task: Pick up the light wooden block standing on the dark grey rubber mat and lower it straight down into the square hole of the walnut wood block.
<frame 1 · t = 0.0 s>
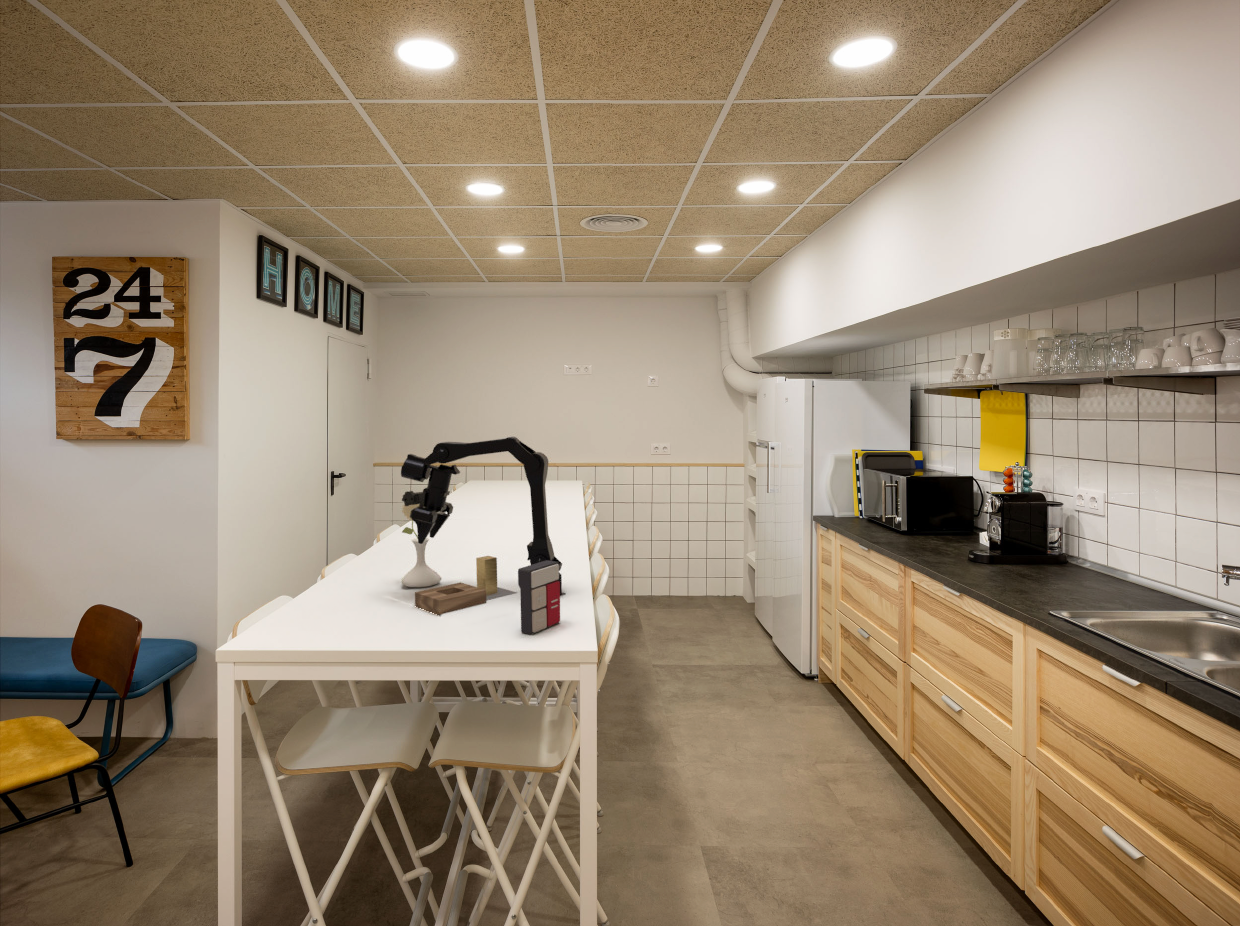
hand: (426, 540, 191), 15 cm above the table, tool pointing down, fingers open, 9 cm apart
hole block: (451, 605, 181), on the table
grey and red case: (541, 628, 162), on the table
light wooden block: (487, 593, 192), resting on rubber mat
flower in vase: (419, 586, 203), on the table
rubber mat: (487, 594, 192), on the table
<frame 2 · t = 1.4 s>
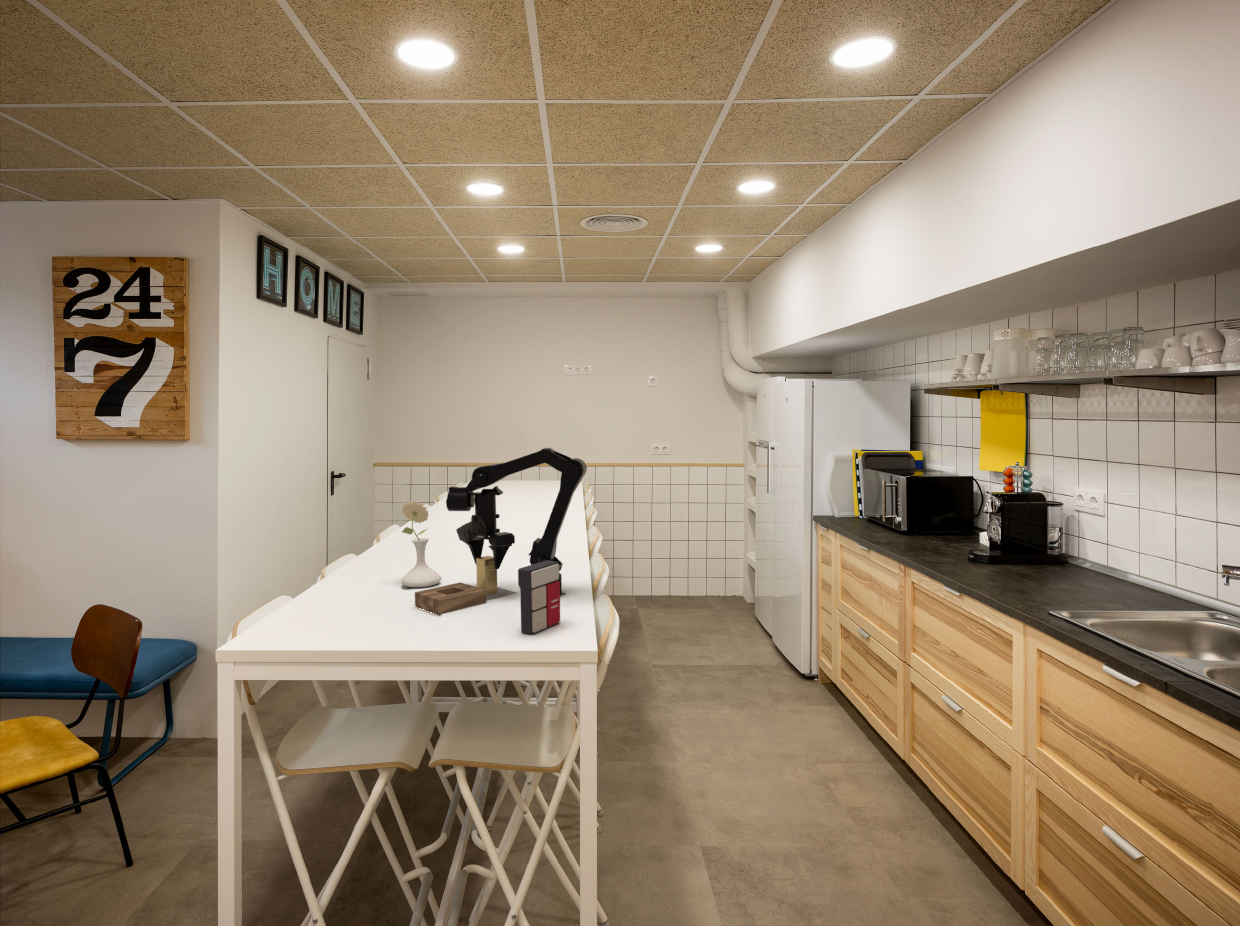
hand: (487, 566, 191), 8 cm above the table, tool pointing down, fingers open, 9 cm apart
nothing on the table moved.
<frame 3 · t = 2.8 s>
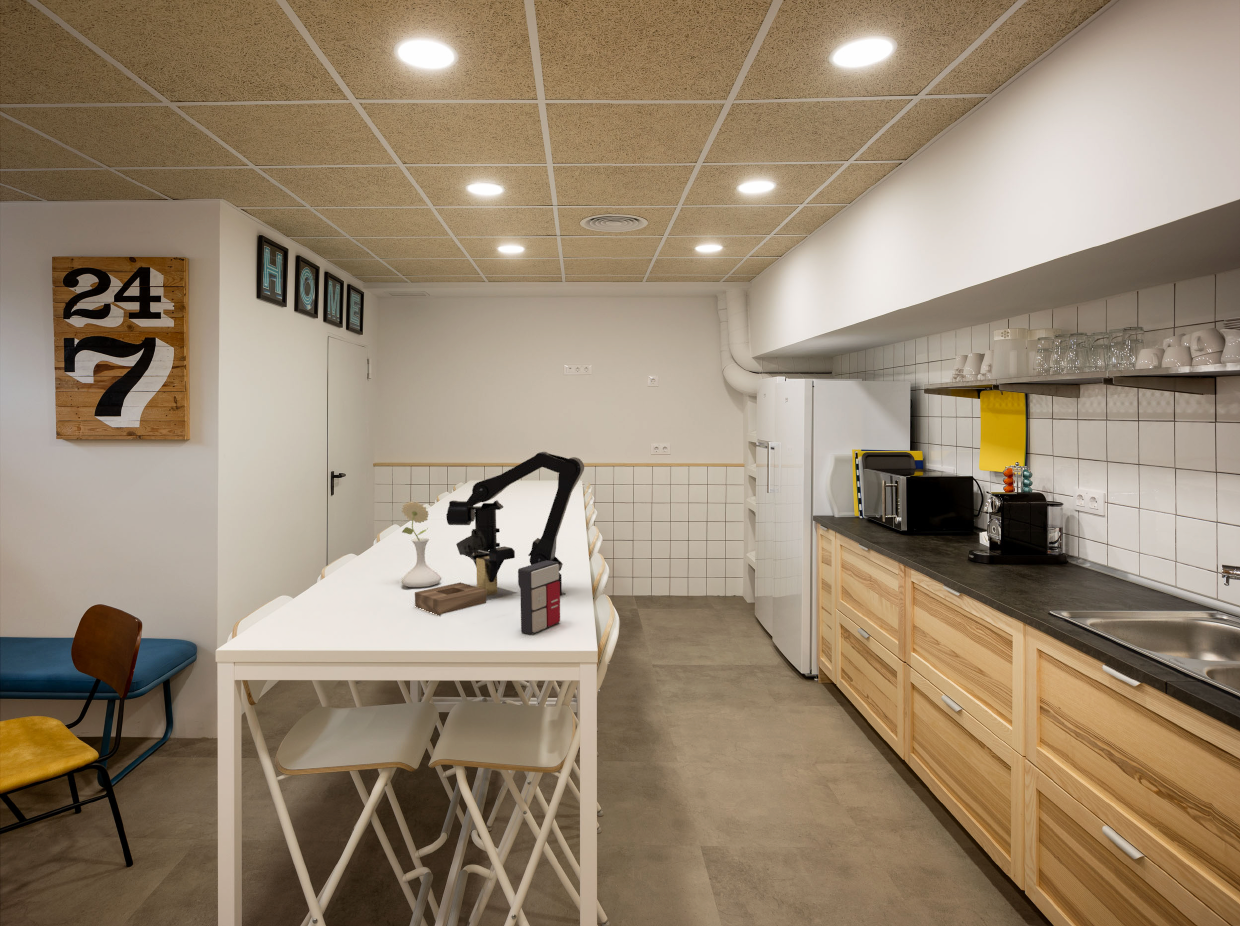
hand: (487, 580, 191), 4 cm above the table, tool pointing down, fingers closed on light wooden block, 4 cm apart
light wooden block: (487, 593, 192), point 1 cm above the table, touching gripper, rubber mat
everything else where it was.
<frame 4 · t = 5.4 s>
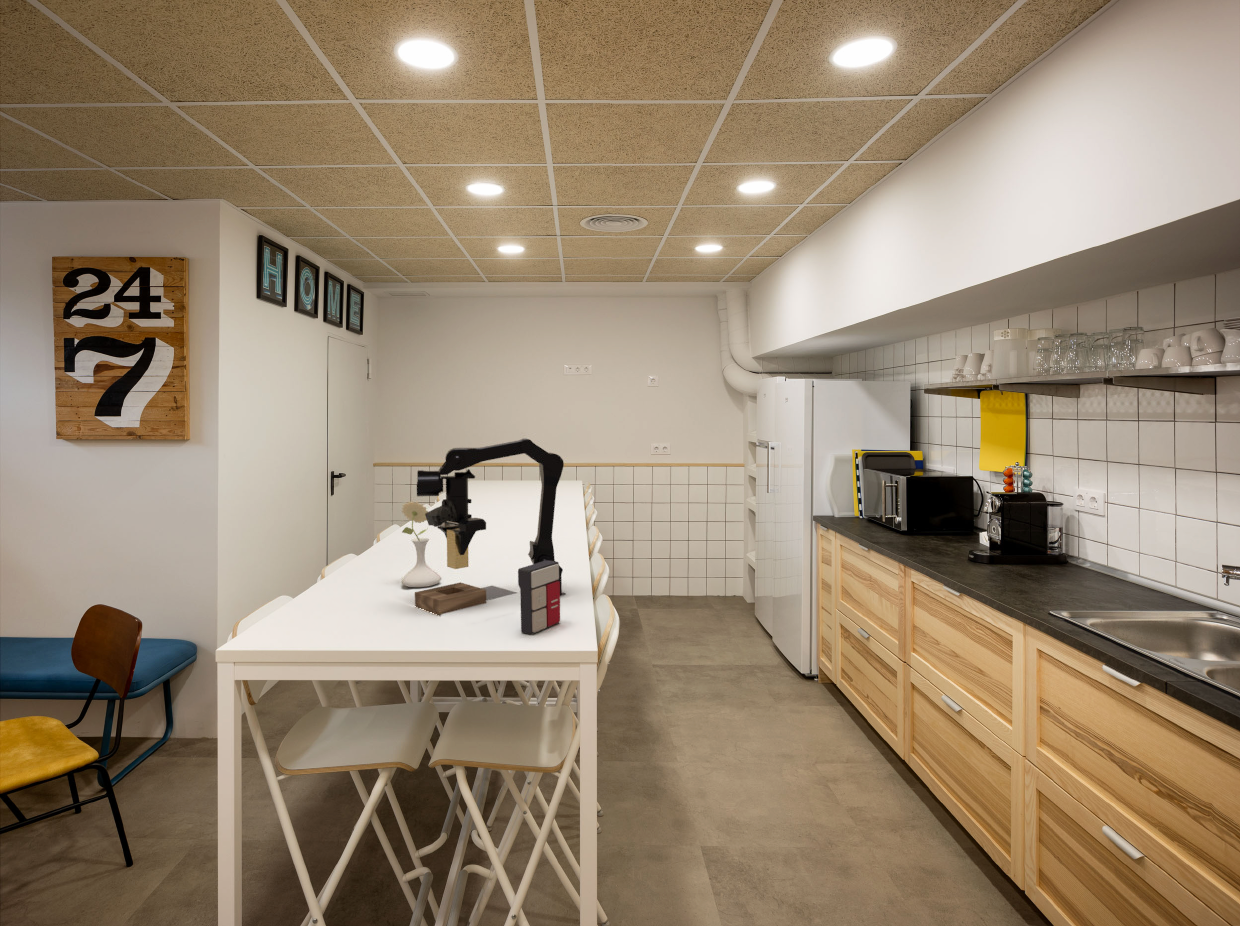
hand: (457, 553, 183), 13 cm above the table, tool pointing down, fingers closed on light wooden block, 4 cm apart
light wooden block: (457, 566, 183), point 10 cm above the table, touching gripper
everything else where it was.
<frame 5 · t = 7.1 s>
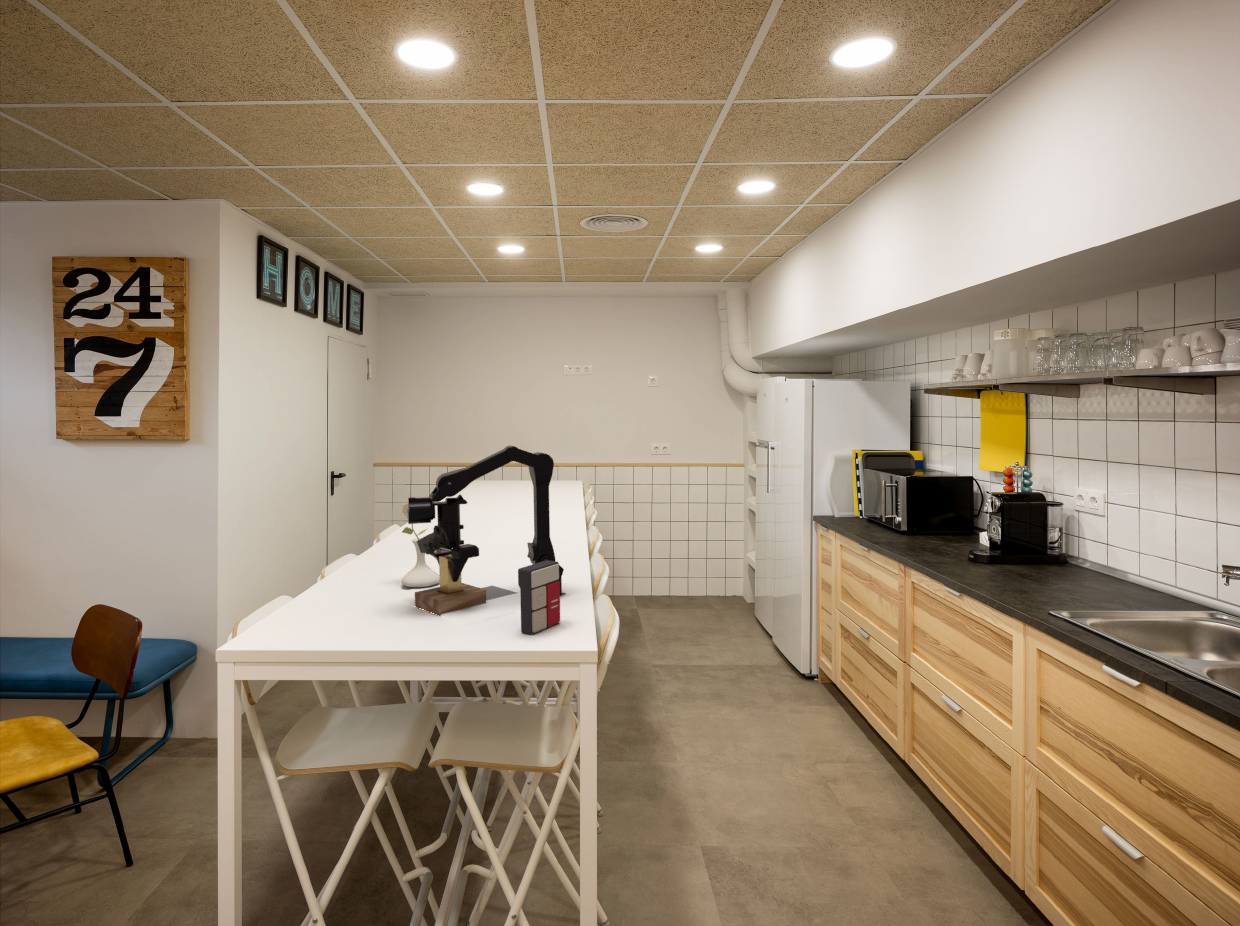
hand: (450, 580, 181), 7 cm above the table, tool pointing down, fingers closed on light wooden block, 4 cm apart
light wooden block: (450, 593, 181), point 3 cm above the table, touching gripper
everything else where it was.
when the fingers open (5 cm above the table, at t = 8.3 s): light wooden block drops 2 cm, resting in hole block.
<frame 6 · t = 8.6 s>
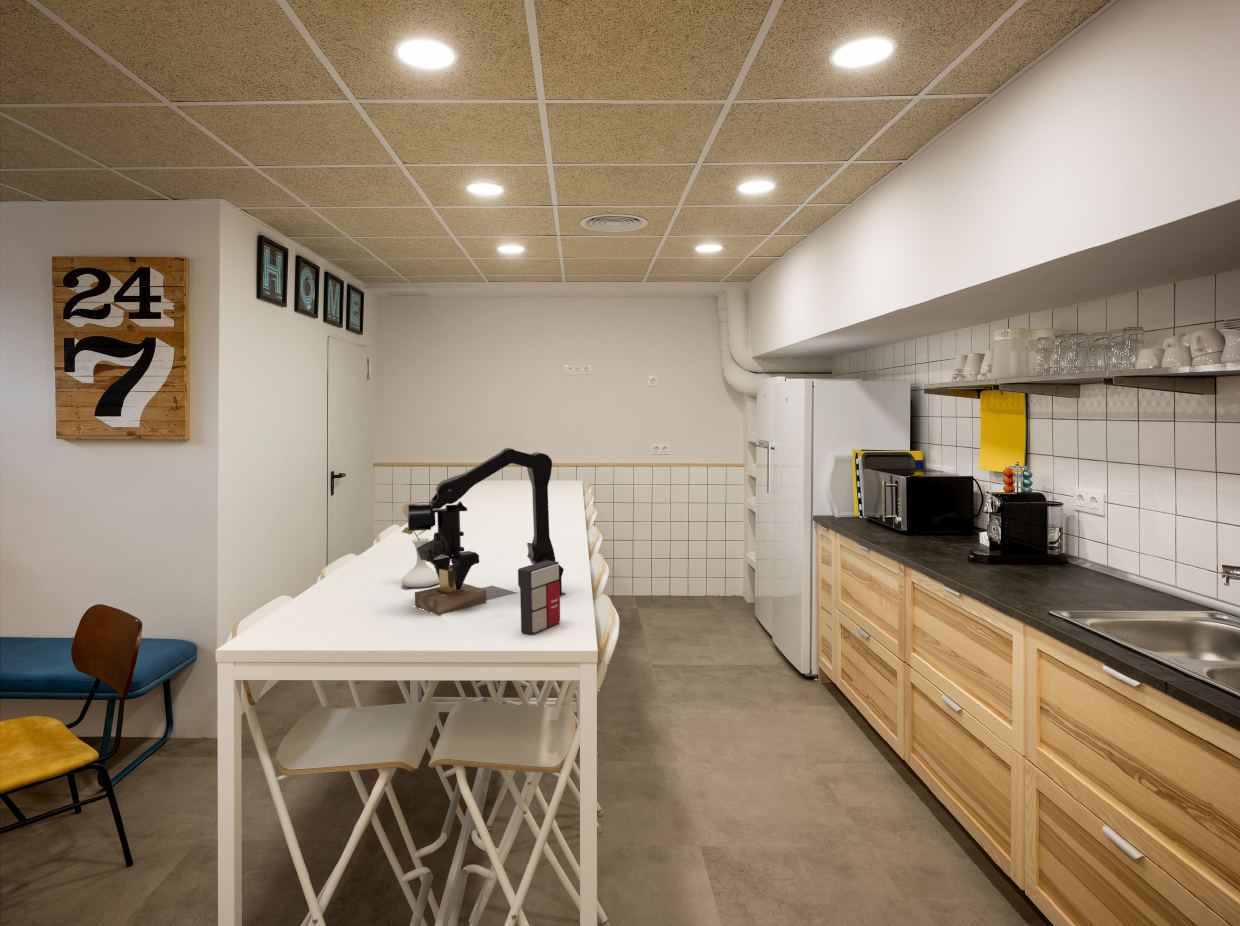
hand: (450, 587, 181), 5 cm above the table, tool pointing down, fingers open, 7 cm apart
light wooden block: (451, 605, 181), resting in hole block
everything else where it was.
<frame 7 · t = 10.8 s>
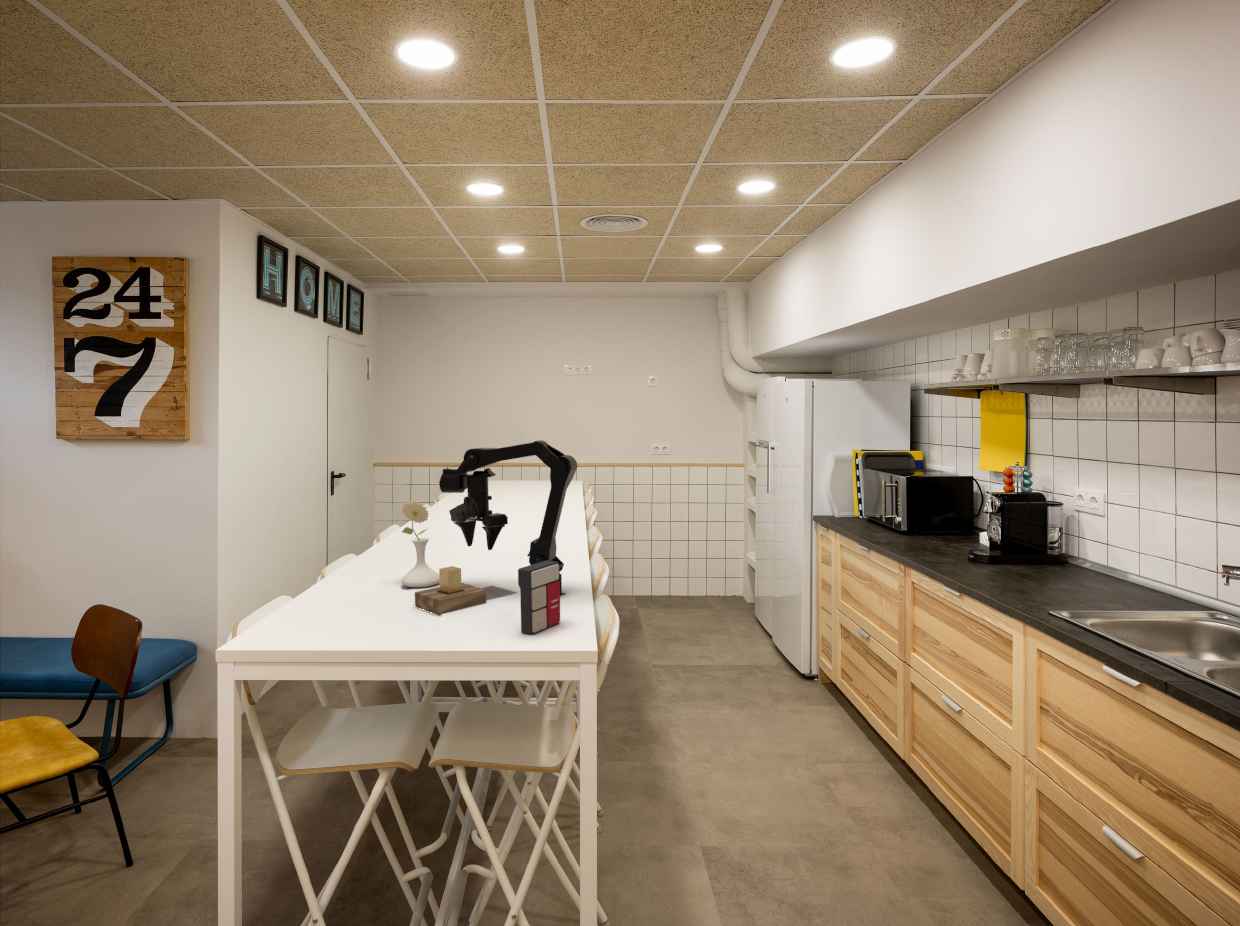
hand: (479, 548, 193), 13 cm above the table, tool pointing down, fingers open, 9 cm apart
nothing on the table moved.
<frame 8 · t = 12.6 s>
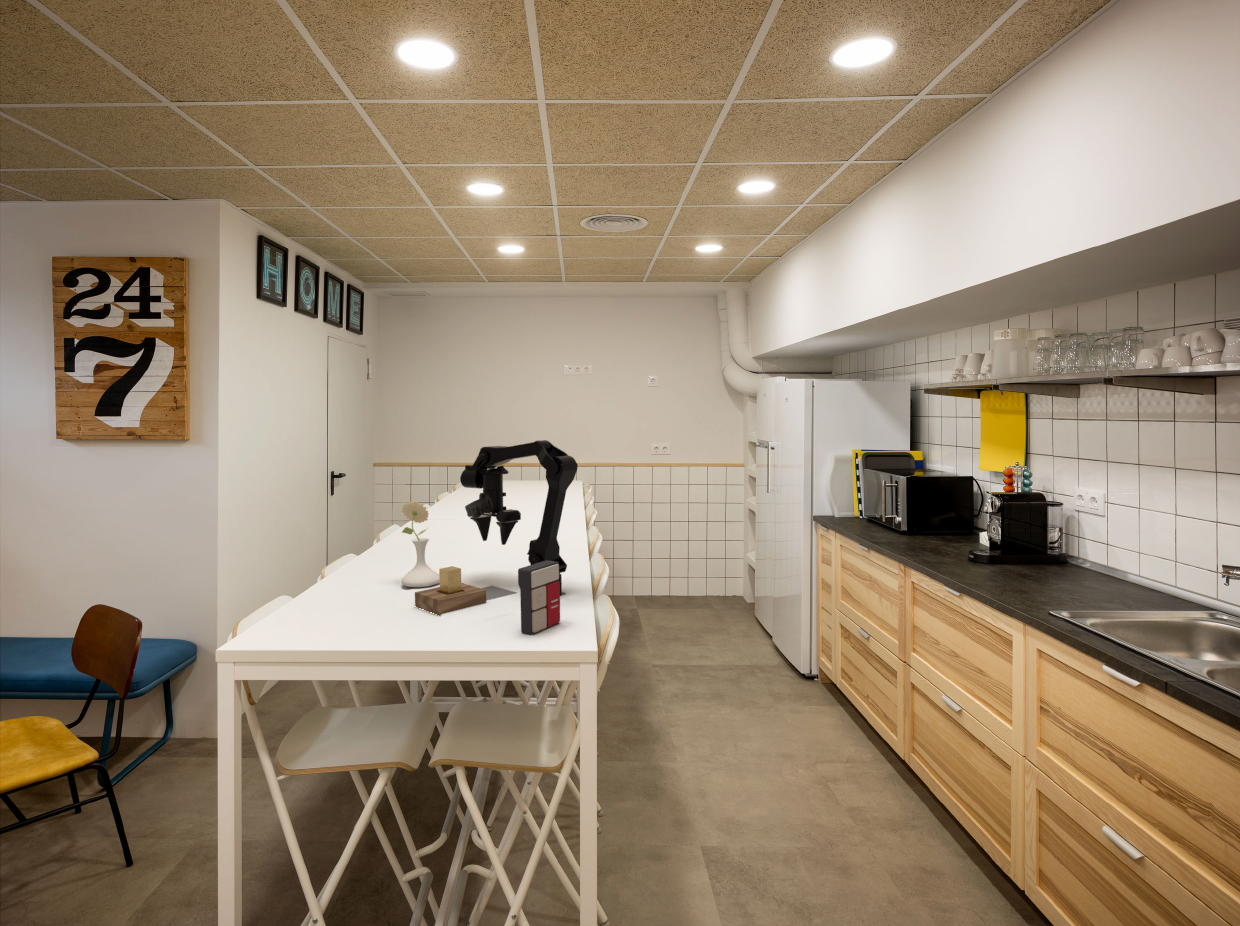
hand: (494, 542, 200), 13 cm above the table, tool pointing down, fingers open, 9 cm apart
nothing on the table moved.
at the end: light wooden block 0.0 cm off-centre on the hole block, point 0.0 cm above the hole block's base; light wooden block tilted 0°; the gripper is holding nothing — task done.
